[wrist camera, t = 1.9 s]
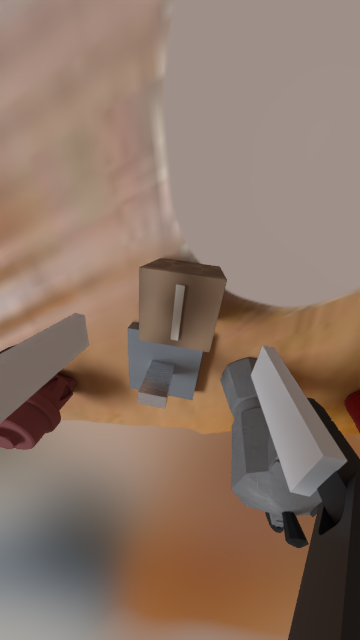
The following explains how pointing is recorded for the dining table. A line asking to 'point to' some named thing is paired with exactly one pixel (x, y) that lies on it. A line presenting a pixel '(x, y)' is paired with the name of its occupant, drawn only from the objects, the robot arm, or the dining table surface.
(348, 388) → the dining table surface
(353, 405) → the plastic cup
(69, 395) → the mechanical component
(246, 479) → the coffeepot
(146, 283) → the cardboard box
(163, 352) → the shaft stand
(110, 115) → the dining table surface
